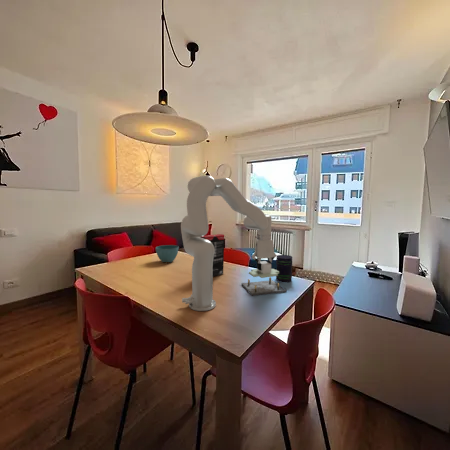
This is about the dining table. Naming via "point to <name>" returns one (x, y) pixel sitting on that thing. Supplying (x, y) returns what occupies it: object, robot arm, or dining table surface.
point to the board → (256, 273)
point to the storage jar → (284, 268)
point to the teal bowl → (167, 252)
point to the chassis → (263, 287)
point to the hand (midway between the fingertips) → (264, 268)
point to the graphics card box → (217, 252)
